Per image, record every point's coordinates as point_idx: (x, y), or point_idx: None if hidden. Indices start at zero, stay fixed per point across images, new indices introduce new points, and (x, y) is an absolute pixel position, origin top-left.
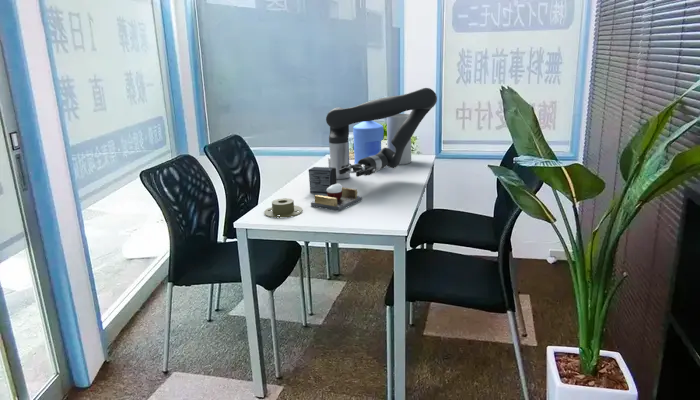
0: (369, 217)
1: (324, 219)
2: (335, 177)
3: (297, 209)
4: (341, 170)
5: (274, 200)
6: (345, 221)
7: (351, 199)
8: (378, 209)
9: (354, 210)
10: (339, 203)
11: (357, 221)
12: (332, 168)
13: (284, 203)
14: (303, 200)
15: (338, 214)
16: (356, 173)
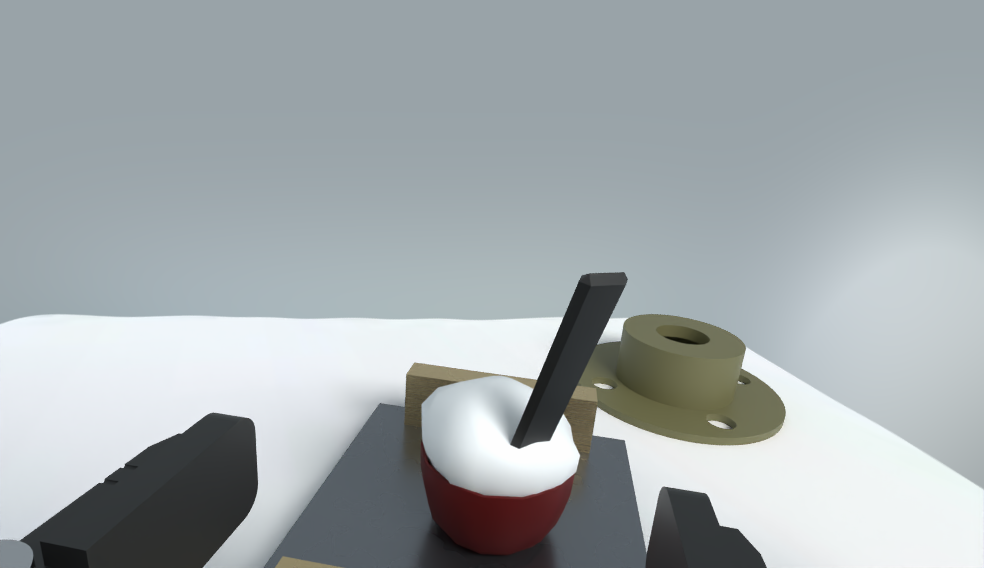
0: (163, 382)
1: (412, 351)
2: (544, 373)
3: (625, 398)
4: (663, 520)
5: (737, 339)
6: (302, 346)
7: (321, 551)
8: (46, 486)
9: (269, 446)
10: (404, 452)
11: (239, 349)
12: (613, 276)
13: (646, 322)
14: (808, 557)
15: (364, 392)
16: (246, 442)
